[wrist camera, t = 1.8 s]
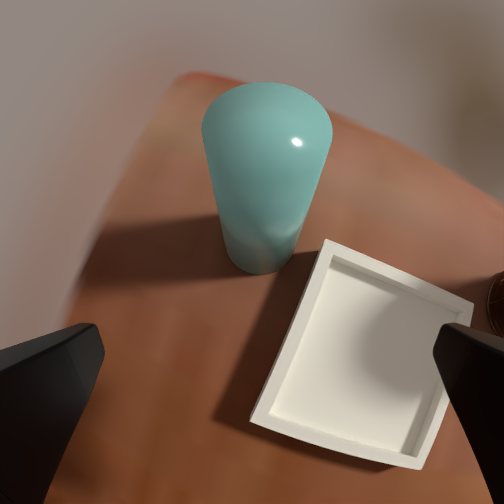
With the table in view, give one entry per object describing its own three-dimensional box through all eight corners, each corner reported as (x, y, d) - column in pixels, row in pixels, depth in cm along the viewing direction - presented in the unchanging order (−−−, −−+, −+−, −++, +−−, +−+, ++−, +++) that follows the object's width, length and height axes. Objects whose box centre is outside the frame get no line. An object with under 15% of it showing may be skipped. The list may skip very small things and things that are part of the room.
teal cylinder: (279, 285, 22) (309, 199, 10) (213, 258, 22) (177, 152, 11) (304, 224, 23) (345, 104, 12) (242, 200, 24) (235, 71, 12)
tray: (407, 462, 17) (420, 470, 15) (250, 415, 19) (249, 421, 17) (458, 309, 21) (474, 303, 19) (319, 250, 22) (325, 238, 20)
